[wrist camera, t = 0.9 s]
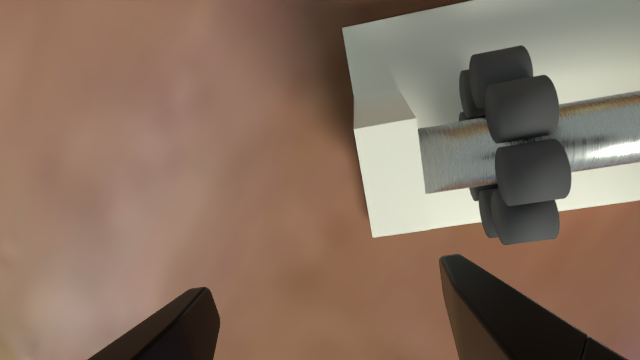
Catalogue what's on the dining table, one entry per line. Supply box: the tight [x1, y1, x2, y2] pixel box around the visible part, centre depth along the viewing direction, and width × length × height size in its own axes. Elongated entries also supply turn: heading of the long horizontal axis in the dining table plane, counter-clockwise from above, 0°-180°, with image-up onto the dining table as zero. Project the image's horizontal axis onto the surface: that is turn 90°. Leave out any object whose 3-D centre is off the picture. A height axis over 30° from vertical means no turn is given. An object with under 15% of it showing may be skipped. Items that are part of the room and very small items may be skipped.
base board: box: [342, 0, 640, 237], centre depth 16 cm, size 20×10×6 cm, turn 101°
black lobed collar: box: [459, 45, 571, 245], centre depth 15 cm, size 2×7×7 cm, turn 11°
